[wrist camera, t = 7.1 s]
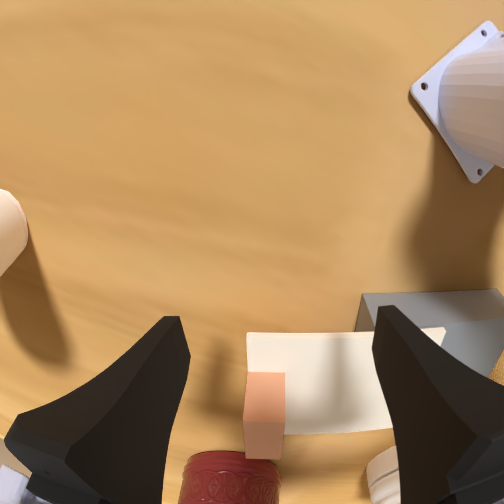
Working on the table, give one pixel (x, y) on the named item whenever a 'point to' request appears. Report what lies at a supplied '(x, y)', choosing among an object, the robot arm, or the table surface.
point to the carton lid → (311, 387)
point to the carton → (449, 321)
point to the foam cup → (11, 230)
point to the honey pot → (384, 478)
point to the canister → (229, 480)
